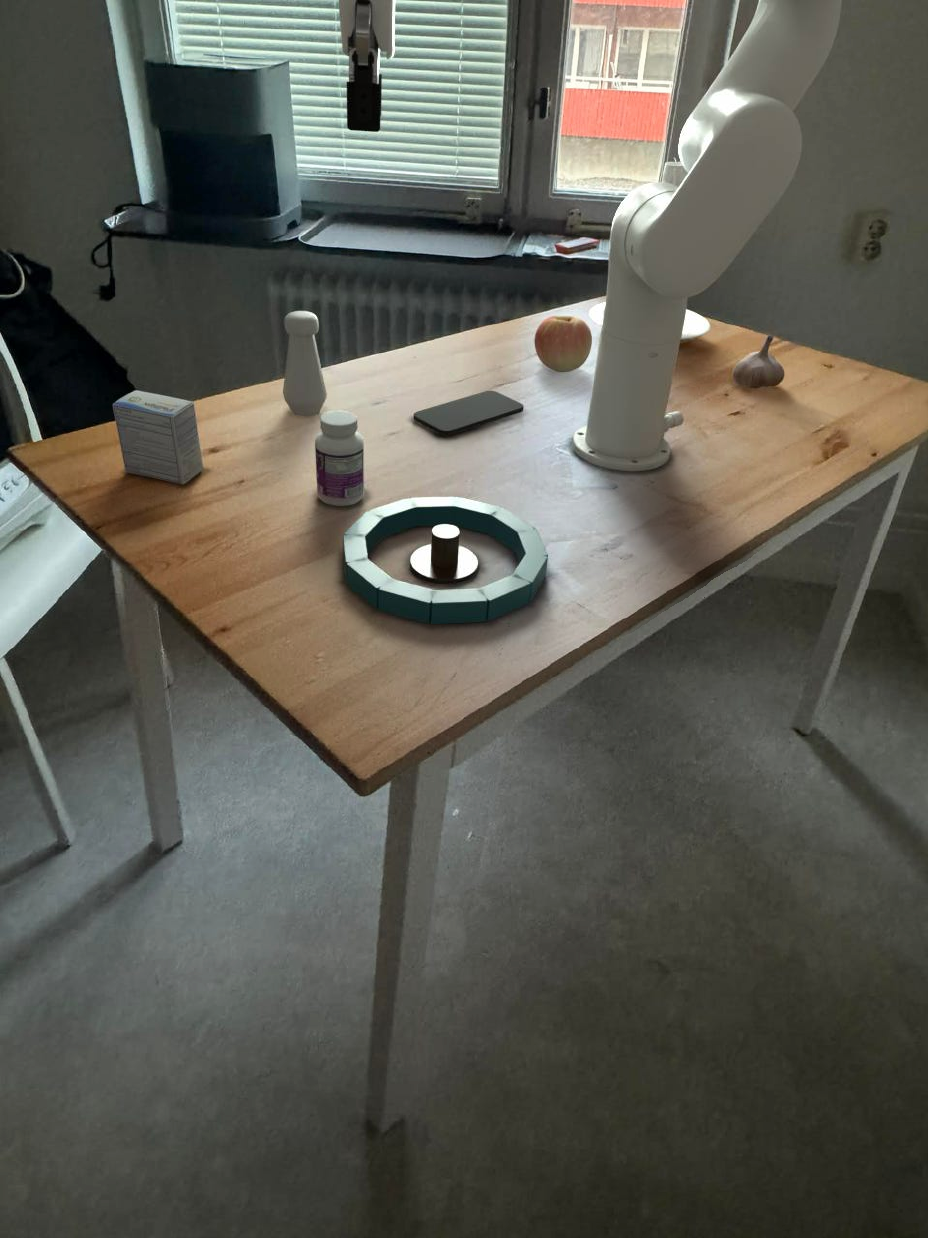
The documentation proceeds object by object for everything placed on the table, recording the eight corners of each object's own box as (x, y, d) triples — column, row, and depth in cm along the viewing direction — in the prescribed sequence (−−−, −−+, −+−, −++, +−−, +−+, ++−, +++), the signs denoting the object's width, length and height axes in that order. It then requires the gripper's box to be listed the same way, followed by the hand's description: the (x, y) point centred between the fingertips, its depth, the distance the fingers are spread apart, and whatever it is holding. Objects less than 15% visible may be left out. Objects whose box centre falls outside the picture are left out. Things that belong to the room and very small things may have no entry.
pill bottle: (318, 485, 103) (314, 406, 97) (364, 485, 103) (363, 407, 98) (316, 507, 99) (312, 426, 93) (364, 508, 99) (363, 427, 93)
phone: (409, 413, 119) (491, 388, 127) (409, 419, 119) (490, 394, 128) (445, 432, 115) (527, 406, 123) (445, 438, 115) (526, 411, 123)
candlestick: (548, 338, 150) (570, 154, 133) (628, 310, 165) (656, 142, 149) (653, 373, 139) (690, 177, 123) (727, 340, 155) (769, 162, 138)
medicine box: (204, 470, 104) (196, 400, 99) (183, 486, 101) (172, 415, 96) (147, 457, 106) (135, 388, 101) (124, 473, 103) (110, 402, 97)
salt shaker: (318, 421, 117) (314, 323, 109) (277, 415, 118) (270, 317, 110) (332, 405, 122) (330, 309, 114) (293, 399, 123) (287, 304, 115)
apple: (551, 381, 134) (557, 328, 129) (521, 361, 140) (526, 310, 135) (598, 374, 137) (606, 323, 132) (567, 355, 143) (574, 305, 139)
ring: (459, 499, 102) (460, 480, 101) (583, 580, 90) (586, 559, 88) (307, 550, 91) (306, 530, 90) (423, 649, 79) (424, 628, 78)
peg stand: (449, 540, 95) (451, 507, 92) (492, 570, 90) (495, 536, 88) (396, 559, 91) (396, 525, 89) (437, 591, 87) (439, 557, 84)
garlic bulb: (785, 384, 139) (800, 333, 134) (772, 398, 133) (786, 346, 129) (738, 372, 142) (751, 322, 137) (723, 386, 136) (736, 334, 132)
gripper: (407, -94, 73) (402, 139, 83) (405, -84, 87) (401, 114, 97) (316, -102, 73) (322, 133, 83) (328, -91, 87) (332, 110, 97)
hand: (365, 123), depth 90 cm, fingers open, 9 cm apart
